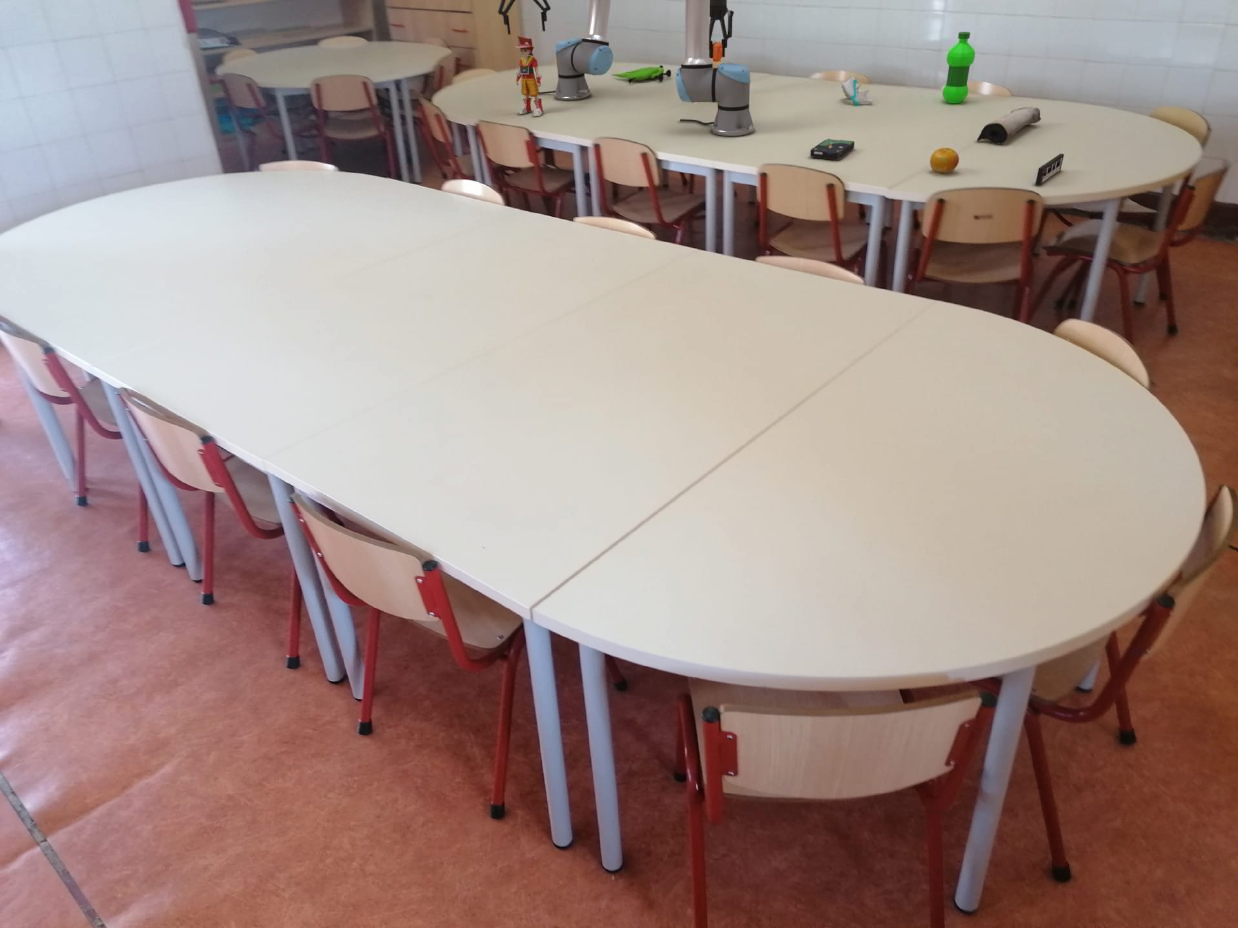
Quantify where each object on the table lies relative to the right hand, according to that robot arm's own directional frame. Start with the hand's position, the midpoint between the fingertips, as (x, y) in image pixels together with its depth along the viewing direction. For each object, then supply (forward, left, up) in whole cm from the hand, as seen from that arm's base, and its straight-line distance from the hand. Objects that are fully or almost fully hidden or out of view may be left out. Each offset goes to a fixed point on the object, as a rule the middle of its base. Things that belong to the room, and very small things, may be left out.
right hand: (716, 57), depth 372 cm
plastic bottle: (+94, +21, -16) cm, 97 cm away
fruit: (+112, -68, -16) cm, 132 cm away
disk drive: (+73, -61, -16) cm, 97 cm away
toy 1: (-62, -49, -16) cm, 81 cm away
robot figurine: (0, 0, -2) cm, 2 cm away
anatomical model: (+57, +11, -16) cm, 60 cm away
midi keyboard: (+142, -63, -16) cm, 157 cm away
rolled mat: (+122, -17, -16) cm, 124 cm away
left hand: (-55, -56, +16) cm, 80 cm away
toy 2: (-52, +24, -16) cm, 59 cm away
